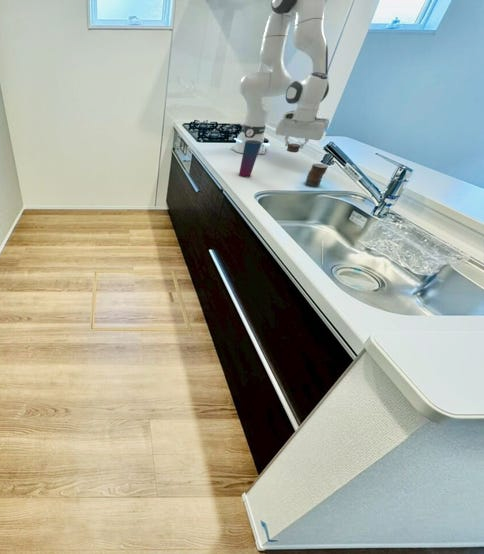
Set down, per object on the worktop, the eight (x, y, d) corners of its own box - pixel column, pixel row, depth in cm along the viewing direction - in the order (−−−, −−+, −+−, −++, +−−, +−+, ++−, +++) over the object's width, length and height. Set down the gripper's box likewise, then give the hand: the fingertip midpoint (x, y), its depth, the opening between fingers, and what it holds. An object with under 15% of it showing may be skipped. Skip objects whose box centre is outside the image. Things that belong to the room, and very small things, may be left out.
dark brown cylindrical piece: (305, 181, 135) (313, 162, 129) (320, 184, 132) (328, 165, 127) (303, 185, 131) (310, 165, 126) (318, 188, 128) (326, 168, 123)
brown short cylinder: (287, 148, 149) (290, 142, 147) (299, 150, 147) (301, 144, 145) (285, 151, 146) (287, 145, 144) (297, 153, 144) (299, 146, 142)
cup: (253, 178, 138) (263, 143, 129) (238, 177, 139) (246, 143, 130) (250, 173, 143) (260, 140, 134) (236, 172, 145) (244, 139, 135)
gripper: (331, 117, 134) (318, 149, 142) (283, 112, 143) (273, 142, 152) (329, 119, 130) (316, 152, 138) (280, 114, 139) (270, 145, 148)
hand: (293, 147), depth 145 cm, fingers closed on brown short cylinder, 5 cm apart
